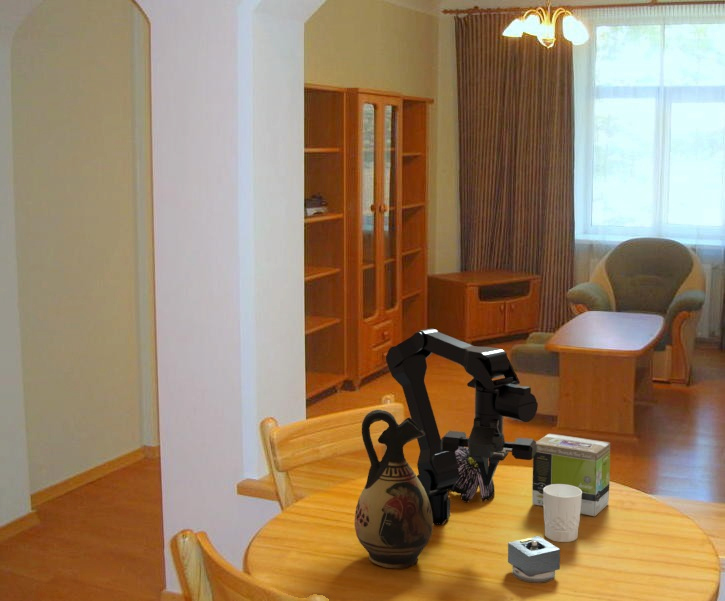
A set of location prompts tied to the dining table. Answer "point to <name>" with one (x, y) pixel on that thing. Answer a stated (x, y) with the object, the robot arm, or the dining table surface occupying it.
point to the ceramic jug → (392, 498)
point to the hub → (536, 578)
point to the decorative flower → (470, 478)
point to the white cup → (562, 512)
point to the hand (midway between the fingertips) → (487, 485)
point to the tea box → (573, 469)
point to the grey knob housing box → (533, 556)
